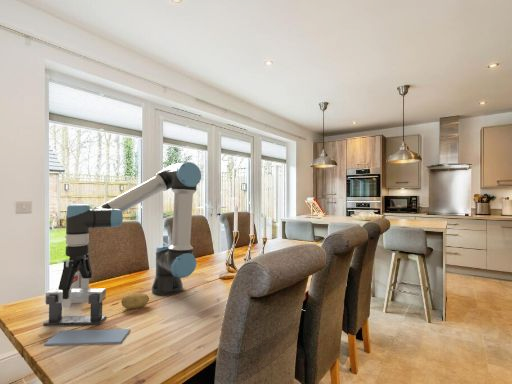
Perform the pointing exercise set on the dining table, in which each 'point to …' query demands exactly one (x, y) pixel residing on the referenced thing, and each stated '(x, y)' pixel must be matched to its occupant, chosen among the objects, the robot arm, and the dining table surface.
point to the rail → (78, 295)
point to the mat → (88, 337)
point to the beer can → (76, 281)
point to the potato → (134, 300)
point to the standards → (58, 319)
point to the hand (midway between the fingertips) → (76, 300)
